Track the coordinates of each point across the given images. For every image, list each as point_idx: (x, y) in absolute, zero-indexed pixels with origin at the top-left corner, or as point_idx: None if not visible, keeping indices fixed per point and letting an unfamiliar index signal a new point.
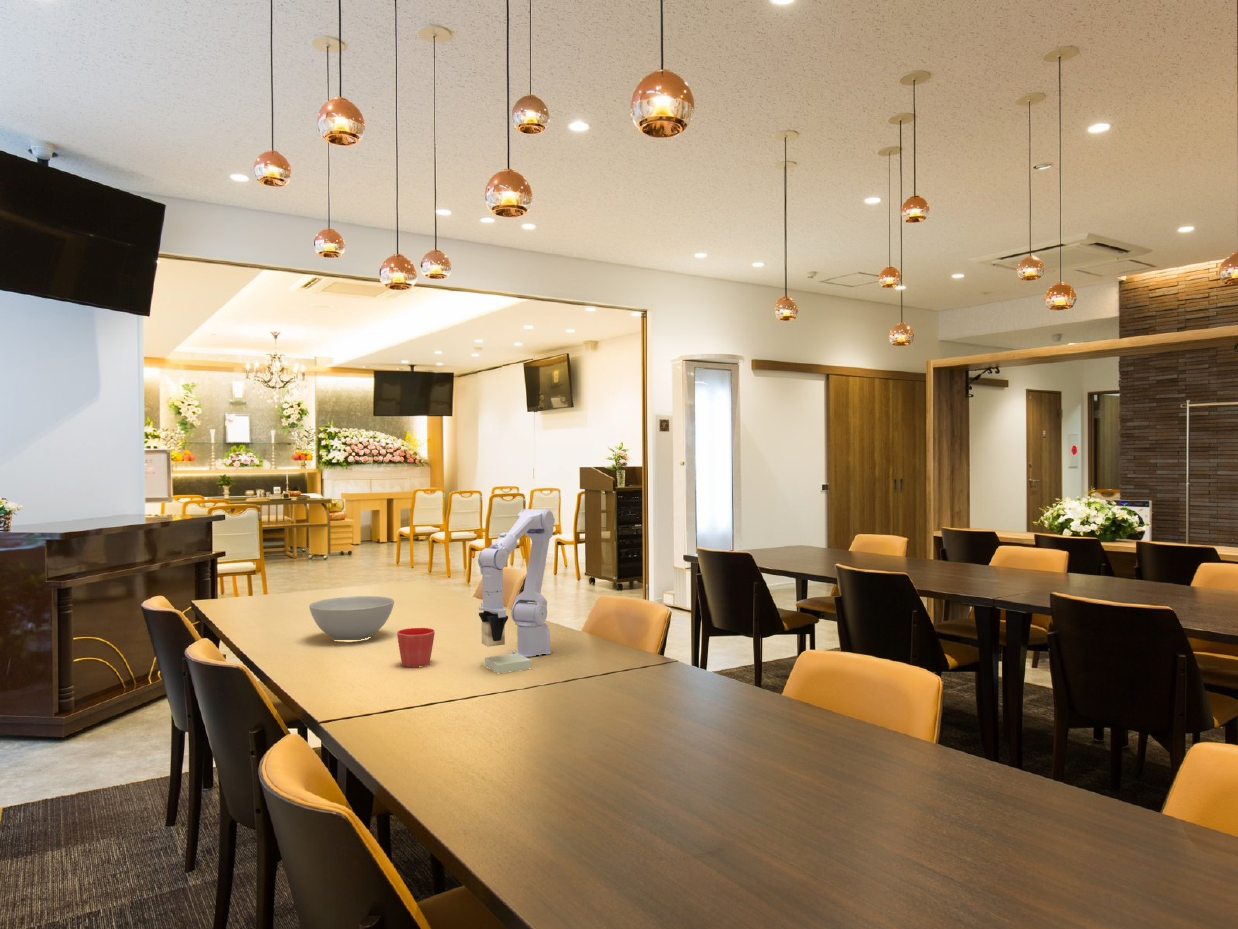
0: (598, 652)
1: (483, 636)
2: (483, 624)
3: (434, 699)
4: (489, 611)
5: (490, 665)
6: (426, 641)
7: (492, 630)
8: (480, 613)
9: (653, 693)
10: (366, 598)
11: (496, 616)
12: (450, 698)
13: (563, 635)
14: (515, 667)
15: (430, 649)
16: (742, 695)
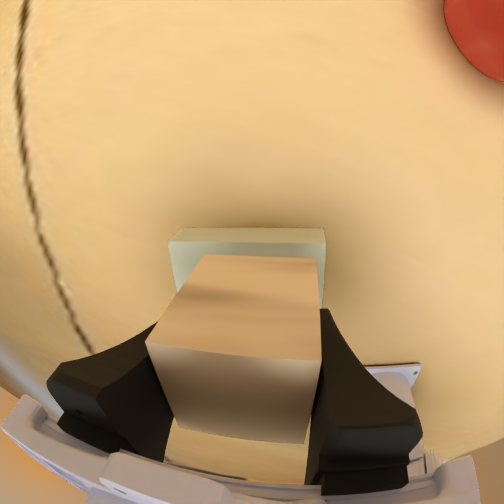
0: (281, 458)
1: (277, 284)
2: (262, 349)
3: (39, 17)
4: (290, 489)
5: (256, 234)
6: (491, 4)
7: (143, 333)
8: (371, 438)
9: (29, 363)
10: None
11: (70, 418)
12: (29, 52)
13: (442, 449)
14: None
15: (492, 49)
16: (34, 399)
